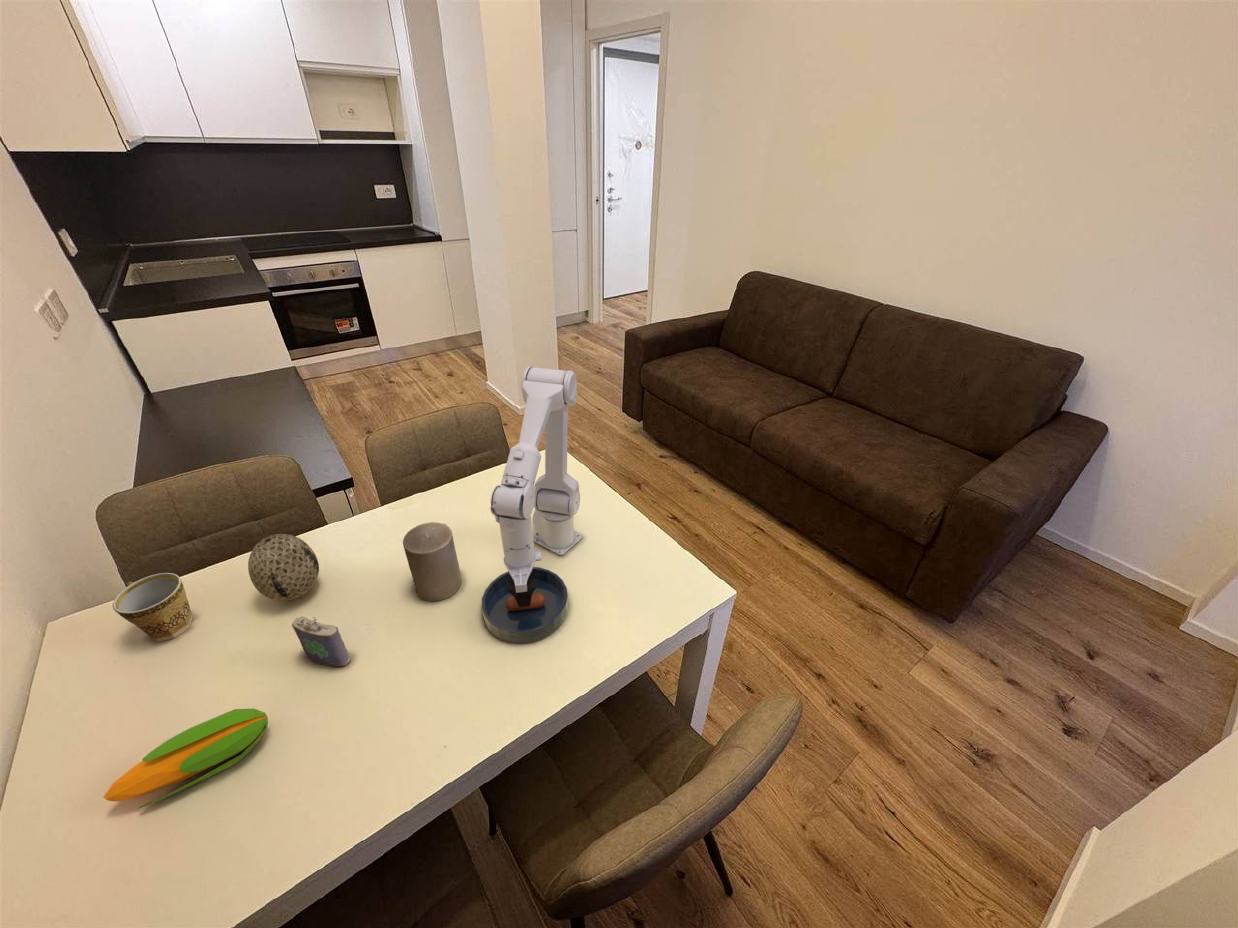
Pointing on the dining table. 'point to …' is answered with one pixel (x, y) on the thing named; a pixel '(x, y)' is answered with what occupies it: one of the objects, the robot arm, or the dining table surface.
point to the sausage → (536, 602)
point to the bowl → (525, 622)
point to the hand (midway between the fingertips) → (524, 590)
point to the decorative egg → (283, 567)
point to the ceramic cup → (156, 606)
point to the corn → (192, 754)
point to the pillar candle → (432, 561)
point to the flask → (321, 642)
